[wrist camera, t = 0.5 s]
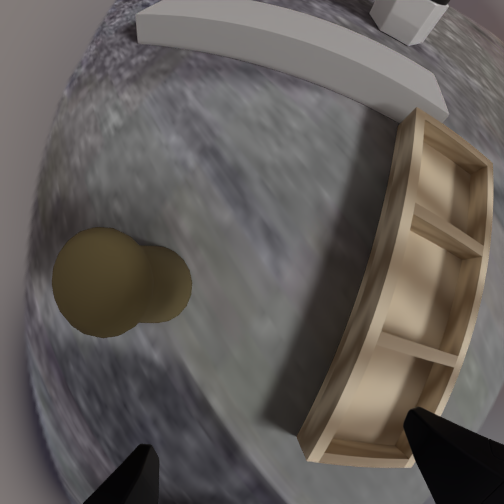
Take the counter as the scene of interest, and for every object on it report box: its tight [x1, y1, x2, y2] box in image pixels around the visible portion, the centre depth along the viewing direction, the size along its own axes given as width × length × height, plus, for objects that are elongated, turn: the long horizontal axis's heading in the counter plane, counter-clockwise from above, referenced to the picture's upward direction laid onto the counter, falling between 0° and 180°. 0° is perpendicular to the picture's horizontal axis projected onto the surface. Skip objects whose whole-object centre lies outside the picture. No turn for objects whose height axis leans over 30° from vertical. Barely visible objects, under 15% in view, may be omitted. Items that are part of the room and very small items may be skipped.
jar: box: [369, 0, 450, 46], centre depth 21 cm, size 9×8×12 cm
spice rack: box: [297, 107, 493, 468], centre depth 20 cm, size 31×11×4 cm, turn 159°
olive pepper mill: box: [52, 227, 192, 338], centre depth 16 cm, size 6×6×11 cm
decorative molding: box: [136, 0, 449, 123], centre depth 24 cm, size 34×5×10 cm
